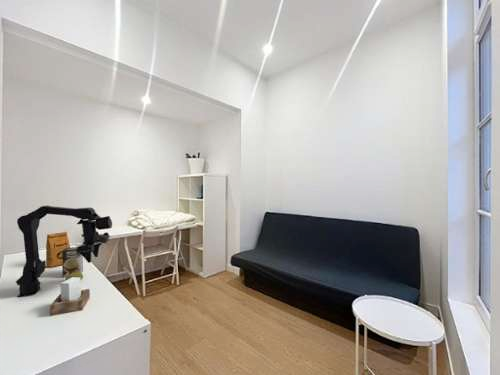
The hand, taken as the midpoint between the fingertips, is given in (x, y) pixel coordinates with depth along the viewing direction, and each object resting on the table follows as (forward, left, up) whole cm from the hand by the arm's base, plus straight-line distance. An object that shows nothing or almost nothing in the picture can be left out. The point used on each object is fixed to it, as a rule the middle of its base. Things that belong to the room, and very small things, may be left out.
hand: (93, 259), depth 118 cm
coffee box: (-16, +23, -14) cm, 31 cm away
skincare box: (-4, -20, -14) cm, 25 cm away
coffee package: (-31, +47, -14) cm, 58 cm away
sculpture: (-12, +11, -15) cm, 21 cm away
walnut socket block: (-4, -20, -14) cm, 25 cm away
